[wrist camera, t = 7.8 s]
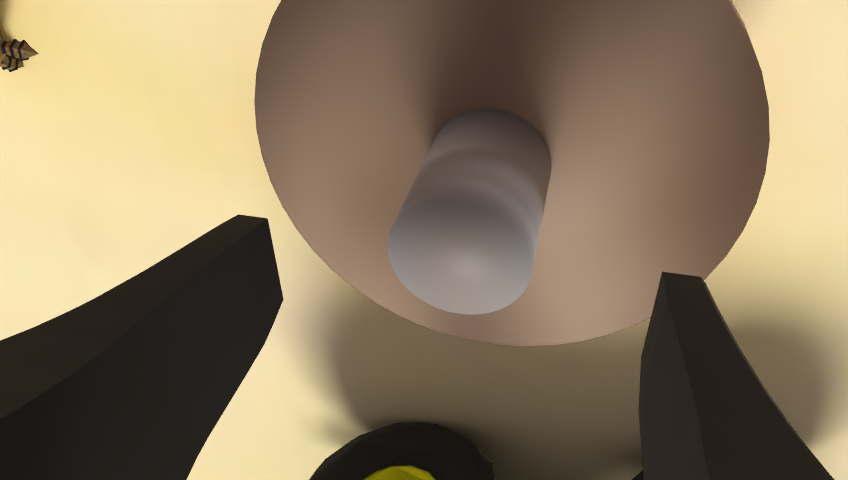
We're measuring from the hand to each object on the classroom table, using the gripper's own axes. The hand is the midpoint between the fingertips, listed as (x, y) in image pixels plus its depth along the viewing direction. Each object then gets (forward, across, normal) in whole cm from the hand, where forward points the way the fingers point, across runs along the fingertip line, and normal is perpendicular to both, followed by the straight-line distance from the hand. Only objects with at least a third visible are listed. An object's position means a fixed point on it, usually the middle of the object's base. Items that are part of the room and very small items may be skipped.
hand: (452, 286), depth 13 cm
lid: (+5, 0, 0) cm, 5 cm away
